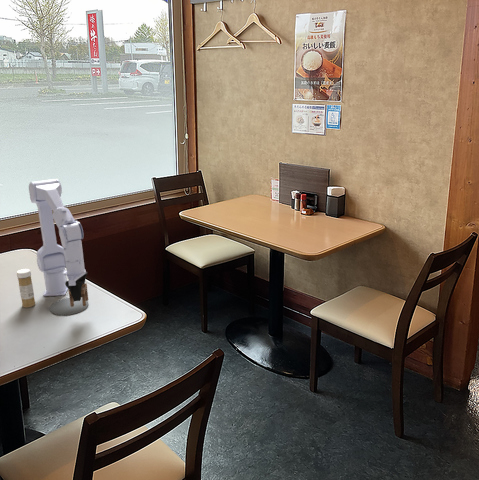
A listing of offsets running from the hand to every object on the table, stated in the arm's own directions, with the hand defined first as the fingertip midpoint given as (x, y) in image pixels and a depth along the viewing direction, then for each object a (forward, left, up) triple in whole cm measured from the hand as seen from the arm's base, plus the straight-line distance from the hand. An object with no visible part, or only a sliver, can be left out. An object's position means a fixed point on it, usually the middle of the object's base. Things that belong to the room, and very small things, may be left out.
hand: (78, 296), depth 171 cm
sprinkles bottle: (-12, -21, -8) cm, 25 cm away
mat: (-9, -6, -8) cm, 13 cm away
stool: (0, 0, -2) cm, 2 cm away
